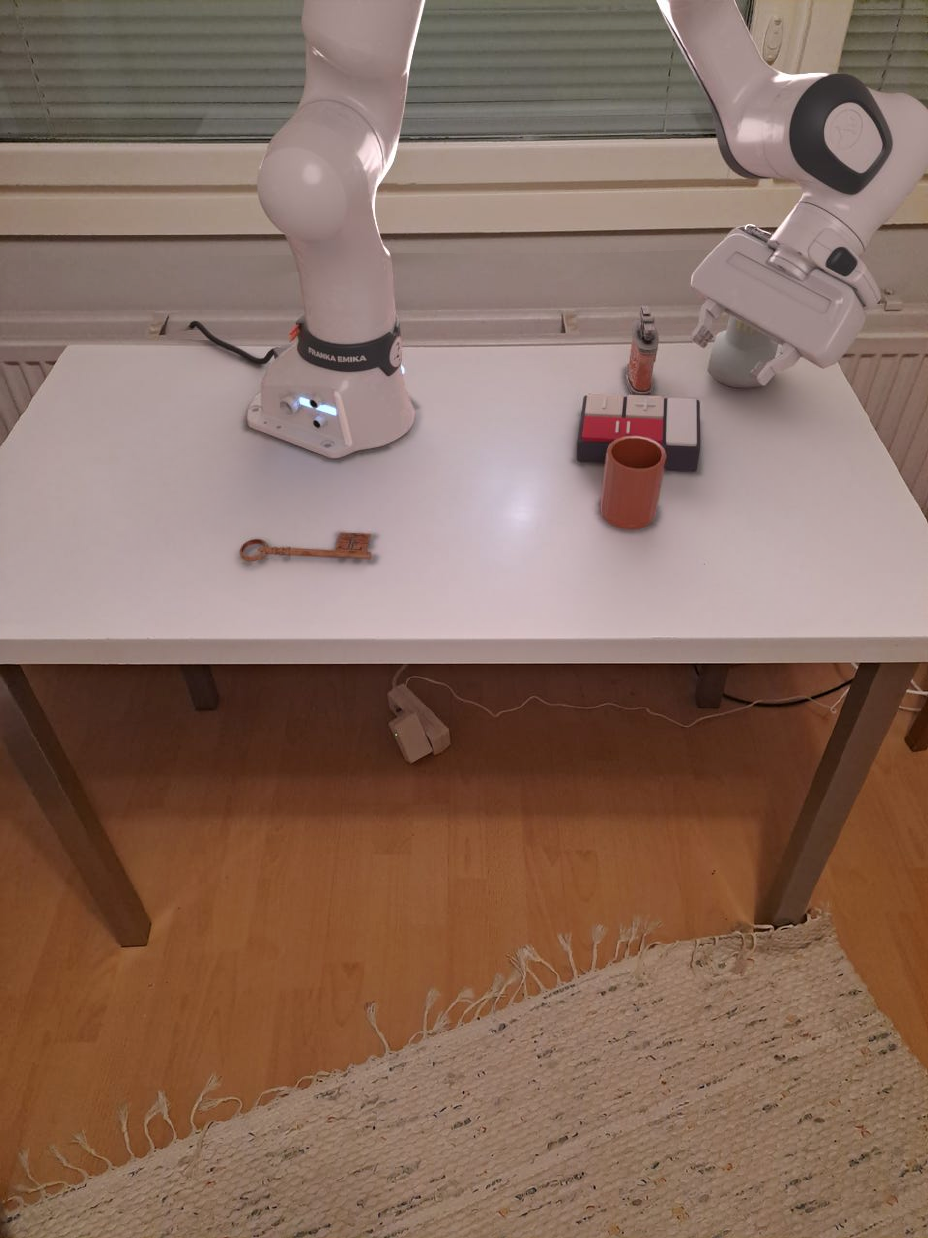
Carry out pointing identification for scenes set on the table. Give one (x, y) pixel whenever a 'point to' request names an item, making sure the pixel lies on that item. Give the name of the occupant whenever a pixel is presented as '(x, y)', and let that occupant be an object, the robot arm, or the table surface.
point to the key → (341, 552)
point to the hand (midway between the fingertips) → (725, 361)
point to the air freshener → (739, 354)
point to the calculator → (641, 426)
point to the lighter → (642, 354)
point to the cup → (632, 482)
